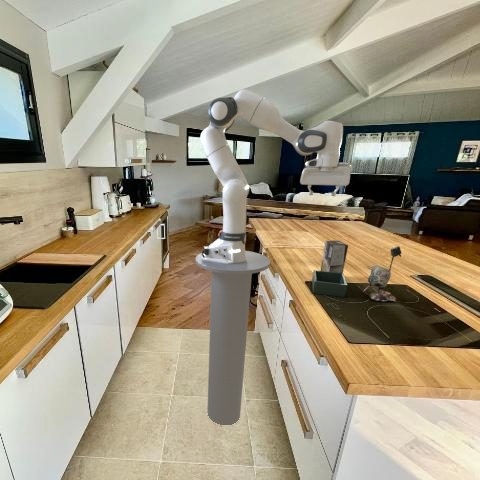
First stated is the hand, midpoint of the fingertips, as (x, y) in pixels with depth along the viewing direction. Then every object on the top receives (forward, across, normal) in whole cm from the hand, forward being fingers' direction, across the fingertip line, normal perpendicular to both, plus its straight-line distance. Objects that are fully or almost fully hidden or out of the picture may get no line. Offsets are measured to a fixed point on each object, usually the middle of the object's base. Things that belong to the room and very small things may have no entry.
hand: (321, 195), depth 140 cm
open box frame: (+34, -6, +27) cm, 44 cm away
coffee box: (+34, -8, +13) cm, 37 cm away
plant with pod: (+34, -24, +31) cm, 52 cm away
